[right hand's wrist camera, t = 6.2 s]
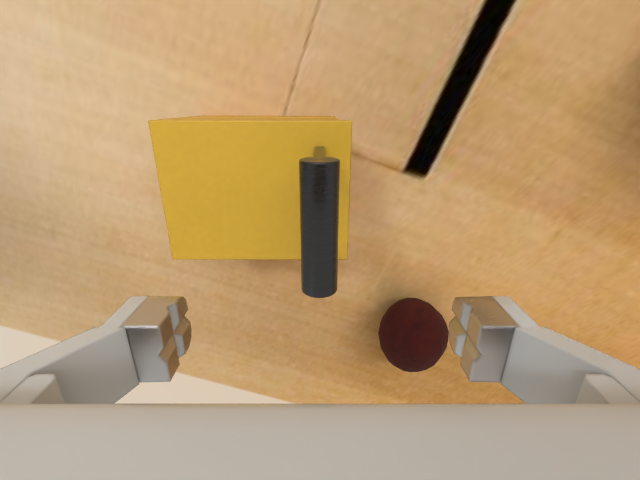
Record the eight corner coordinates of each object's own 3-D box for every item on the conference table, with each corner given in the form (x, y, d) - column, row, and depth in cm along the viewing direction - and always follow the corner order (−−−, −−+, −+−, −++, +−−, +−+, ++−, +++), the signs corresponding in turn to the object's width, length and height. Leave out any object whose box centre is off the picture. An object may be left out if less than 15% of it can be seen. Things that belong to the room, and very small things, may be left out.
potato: (376, 345, 42) (387, 390, 35) (371, 290, 39) (381, 328, 32) (437, 338, 41) (459, 382, 35) (436, 282, 38) (460, 318, 32)
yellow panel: (350, 120, 24) (368, 128, 15) (346, 253, 27) (358, 321, 19) (155, 119, 24) (61, 128, 15) (178, 253, 27) (113, 321, 19)
